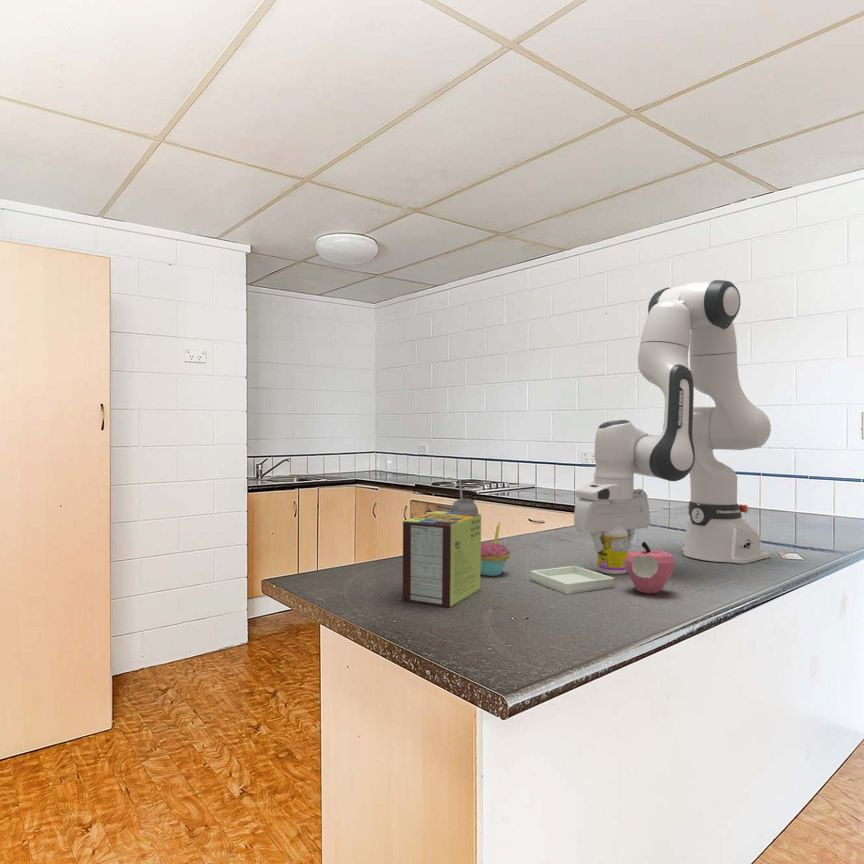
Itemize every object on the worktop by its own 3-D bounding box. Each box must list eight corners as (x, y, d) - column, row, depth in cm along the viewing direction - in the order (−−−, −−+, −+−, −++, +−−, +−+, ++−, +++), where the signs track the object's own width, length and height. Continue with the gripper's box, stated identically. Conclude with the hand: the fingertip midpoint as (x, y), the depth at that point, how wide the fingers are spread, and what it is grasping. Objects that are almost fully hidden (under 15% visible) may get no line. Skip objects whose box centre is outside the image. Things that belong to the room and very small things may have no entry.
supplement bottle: (593, 568, 150) (594, 514, 150) (620, 568, 151) (621, 514, 151) (603, 575, 144) (604, 518, 143) (631, 575, 144) (632, 518, 144)
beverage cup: (476, 564, 153) (477, 481, 152) (446, 563, 154) (447, 481, 154) (480, 558, 160) (481, 479, 159) (451, 557, 161) (452, 478, 161)
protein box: (481, 589, 131) (482, 513, 130) (450, 608, 117) (451, 524, 117) (435, 582, 135) (436, 510, 135) (400, 600, 121) (401, 519, 121)
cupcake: (514, 571, 146) (514, 519, 146) (502, 579, 138) (502, 525, 138) (479, 567, 150) (479, 517, 149) (465, 575, 142) (466, 522, 142)
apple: (618, 592, 129) (619, 543, 128) (632, 584, 136) (632, 537, 136) (667, 600, 123) (668, 549, 123) (678, 591, 130) (679, 543, 130)
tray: (575, 574, 144) (575, 565, 144) (614, 587, 133) (614, 578, 133) (529, 580, 138) (529, 570, 138) (566, 594, 127) (566, 584, 127)
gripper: (637, 487, 154) (636, 543, 154) (570, 490, 145) (569, 550, 145) (656, 489, 149) (655, 548, 149) (588, 493, 139) (587, 555, 140)
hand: (612, 549), depth 147 cm, fingers closed on supplement bottle, 7 cm apart
